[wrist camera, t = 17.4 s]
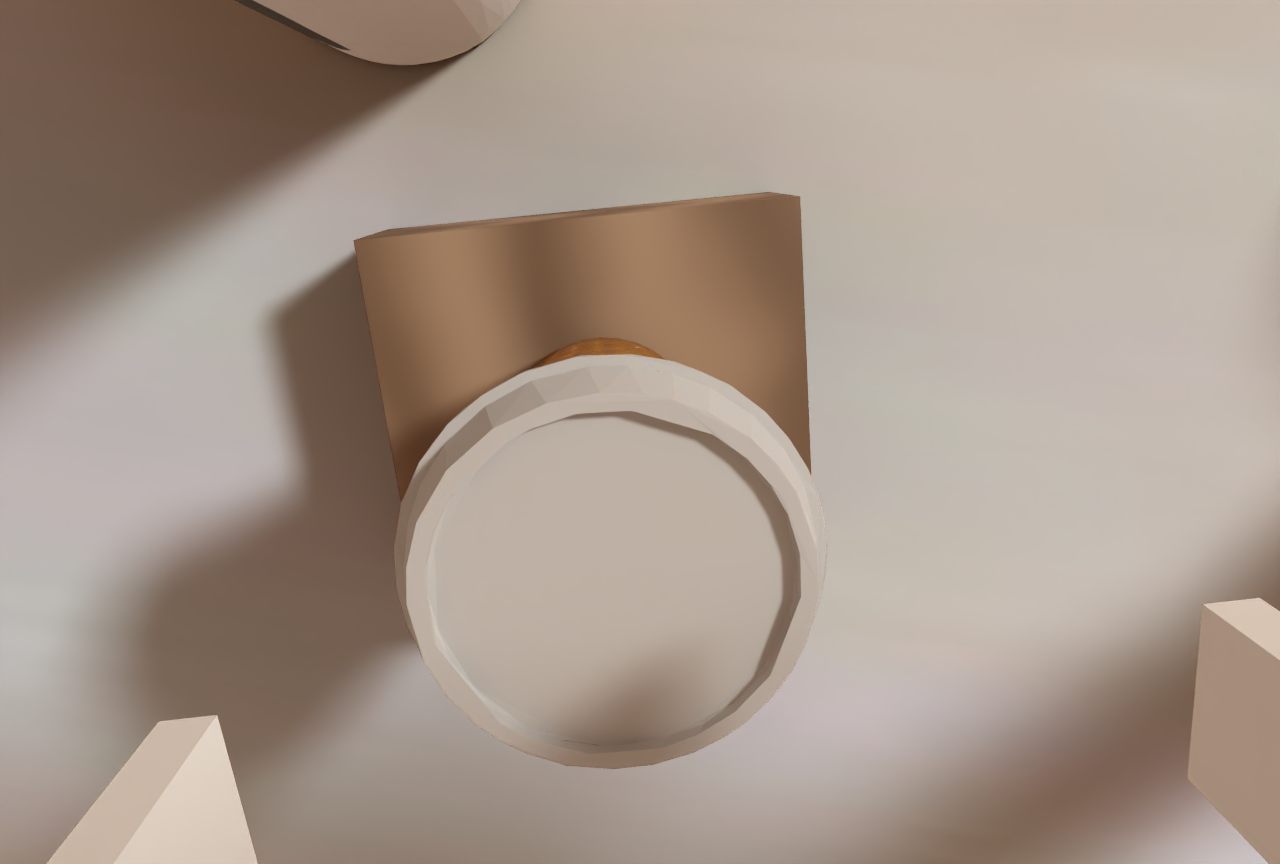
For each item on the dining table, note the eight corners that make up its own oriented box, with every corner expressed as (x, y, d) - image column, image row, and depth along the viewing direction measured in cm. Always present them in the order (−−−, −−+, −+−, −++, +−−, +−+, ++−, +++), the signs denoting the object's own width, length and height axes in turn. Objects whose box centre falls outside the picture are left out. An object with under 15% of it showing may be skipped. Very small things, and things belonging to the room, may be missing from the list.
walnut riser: (769, 192, 33) (799, 196, 28) (786, 541, 37) (815, 597, 32) (387, 229, 33) (353, 240, 28) (447, 578, 37) (426, 640, 32)
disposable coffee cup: (444, 298, 29) (347, 386, 17) (741, 277, 29) (843, 350, 17) (477, 571, 31) (414, 806, 20) (749, 549, 32) (841, 768, 20)
